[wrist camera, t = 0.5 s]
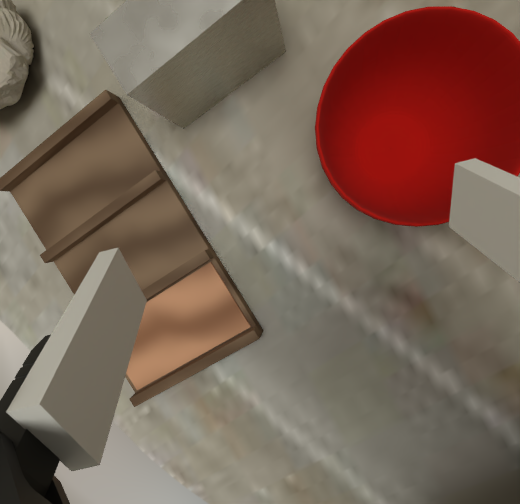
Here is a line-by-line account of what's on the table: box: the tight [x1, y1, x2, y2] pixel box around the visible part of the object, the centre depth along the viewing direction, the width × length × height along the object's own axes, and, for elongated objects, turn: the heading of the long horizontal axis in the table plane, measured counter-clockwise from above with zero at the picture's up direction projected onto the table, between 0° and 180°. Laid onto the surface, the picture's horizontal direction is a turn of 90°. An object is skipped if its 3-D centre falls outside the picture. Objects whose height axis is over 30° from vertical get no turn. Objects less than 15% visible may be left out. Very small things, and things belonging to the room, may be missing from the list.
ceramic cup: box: [315, 7, 520, 227], centre depth 25 cm, size 13×17×10 cm
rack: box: [0, 90, 263, 407], centre depth 35 cm, size 28×16×2 cm, turn 32°
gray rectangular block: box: [90, 0, 286, 129], centre depth 27 cm, size 5×12×10 cm, turn 122°
